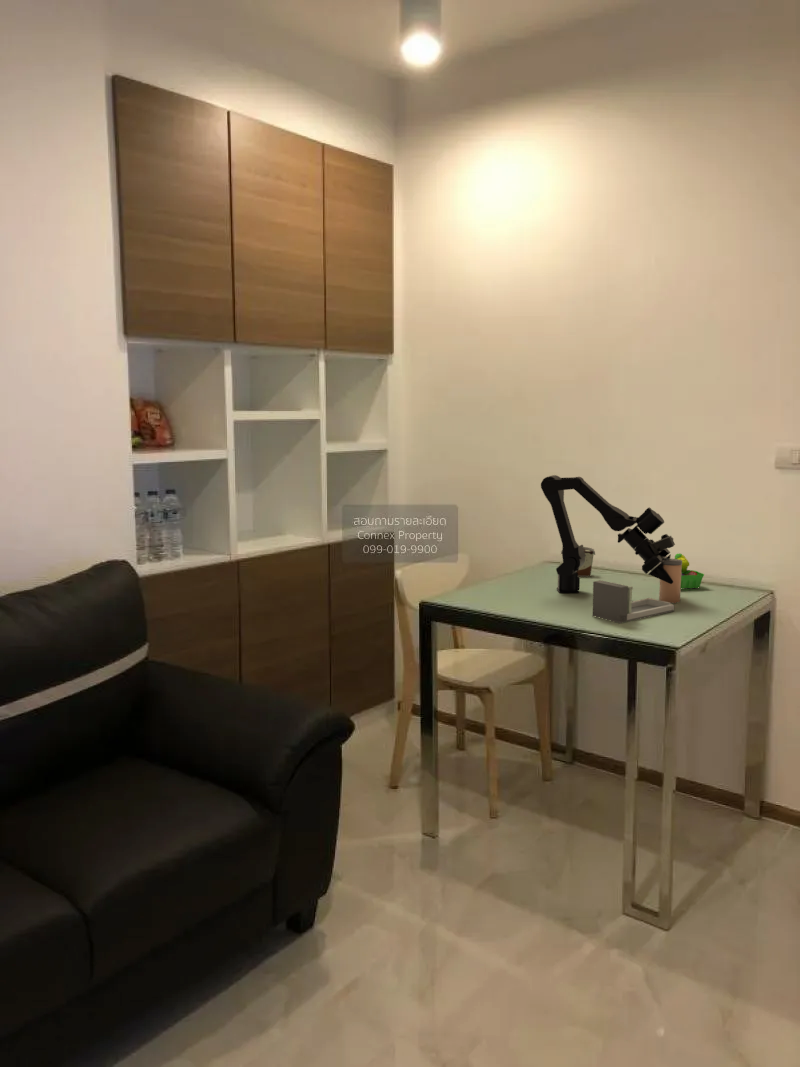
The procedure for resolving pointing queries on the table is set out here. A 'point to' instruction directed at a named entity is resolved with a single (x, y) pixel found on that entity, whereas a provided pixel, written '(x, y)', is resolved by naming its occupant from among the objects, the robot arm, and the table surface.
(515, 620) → the table surface
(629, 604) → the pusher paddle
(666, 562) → the jar
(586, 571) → the food container
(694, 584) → the fruit basket
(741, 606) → the table surface
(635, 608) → the lane
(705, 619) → the table surface
